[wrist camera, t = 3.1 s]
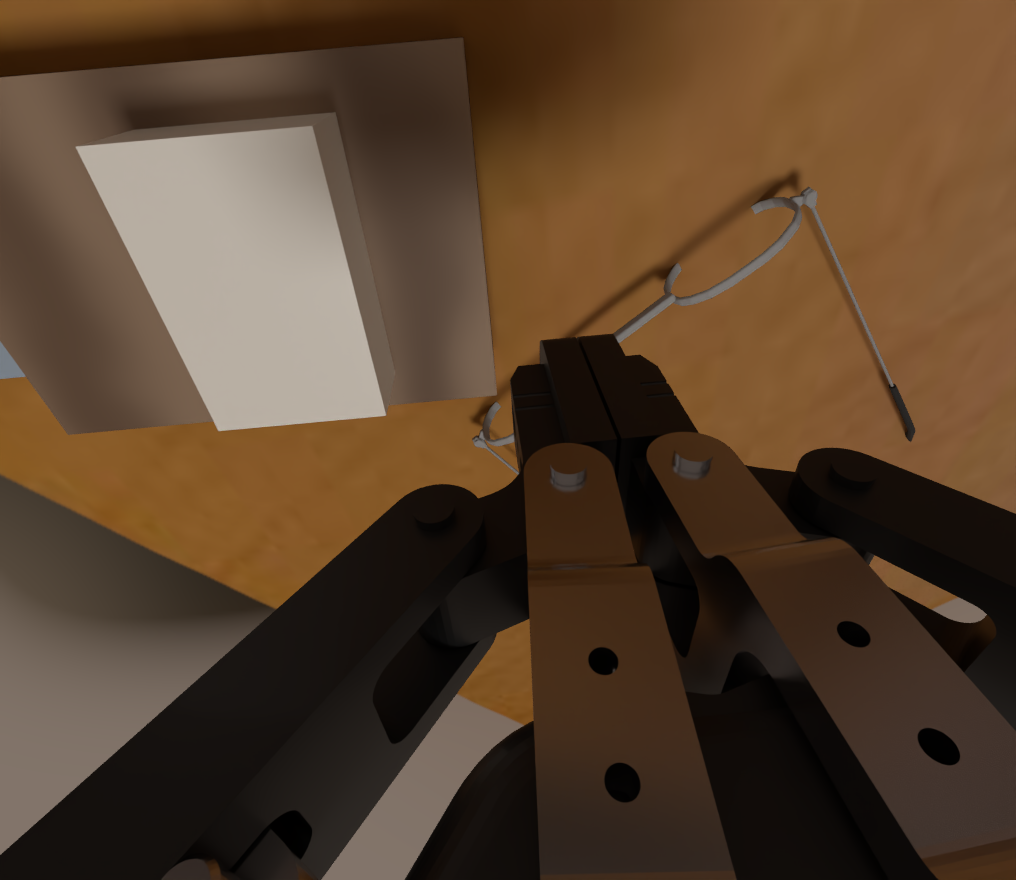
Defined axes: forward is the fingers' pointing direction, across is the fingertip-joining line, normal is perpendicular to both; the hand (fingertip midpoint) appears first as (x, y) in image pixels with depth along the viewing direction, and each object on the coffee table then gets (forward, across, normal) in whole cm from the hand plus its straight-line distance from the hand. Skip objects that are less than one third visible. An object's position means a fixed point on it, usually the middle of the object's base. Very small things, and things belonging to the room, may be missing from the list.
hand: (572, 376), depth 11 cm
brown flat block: (+13, +10, 0) cm, 17 cm away
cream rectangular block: (+8, +9, 0) cm, 12 cm away
